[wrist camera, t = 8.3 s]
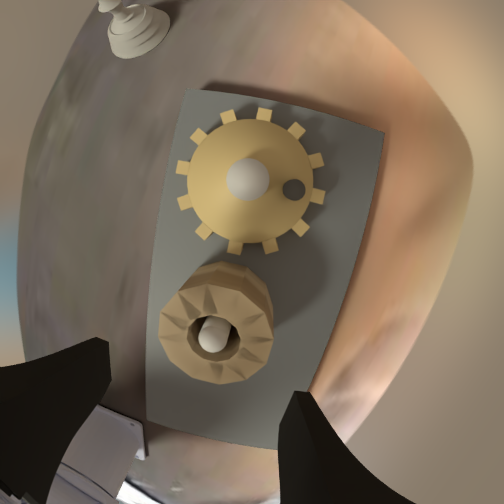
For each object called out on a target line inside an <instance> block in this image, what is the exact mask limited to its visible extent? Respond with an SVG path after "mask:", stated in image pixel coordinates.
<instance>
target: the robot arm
mask: <svg viewBox="0 0 504 504" xmlns="http://www.w3.org/2000/svg"><path fill="white" fill-rule="evenodd" d="M111 380H112V378H111V368H110V356H109V342H107V341H105V340H102V339H100V338H97V337H95V338H92V339H89V340H86V341H84V342H81V343H79V344H76V345H74V346H71V347H69V348H66V349H64V350H61V351H59V352H56V353H54V354H51V355H48V356H45V357H42V358H39V359H36V360H32V361H29V362H25V363H21V364H16V365H11V366H5V367H0V504H119V501H117V500H115V499H116V497H117V495H118V492H119V490H120V488H121V486H122V484H123V482H124V479H125V477H126V475H127V473H128V471H129V469H130V466H131V464H132V462H133V460H134V458H138V459H140V460H145V458H146V456H145V447H144V437H143V426H142V424H141V423H140V422H138V421H136V420H133V419H130V418H128V417H125V416H123V415H120V414H118V413H116V412H113V411H111V410H109V409H106V408H104V407H102V406H100V405H98V403H99V402H100V400H101V399H102V397H103V395H104V394H105V392H106V390H107V388H108V386H109V384H110V382H111ZM278 463H279V478H280V504H415V503H413V502H412V501H410V500H408V499H406V498H405V497H403V496H401V495H400V494H398V493H397V492H395V491H393V490H392V489H391V488H389V487H388V486H387V485H385V484H384V483H383V482H381V481H380V480H379V479H377V478H376V477H375V476H374V475H373V474H372V473H371V472H370V471H369V470H367V469H366V468H365V467H364V466H363V465H362V464H361V463H360V462H359V461H358V460H357V458H356V457H355V456H354V455H353V454H352V453H351V452H350V451H349V449H348V448H347V447H346V446H345V444H344V443H343V442H342V440H341V439H340V438H339V436H338V435H337V434H336V432H335V431H334V429H333V428H332V426H331V425H330V423H329V422H328V420H327V419H326V417H325V416H324V414H323V412H322V411H321V409H320V408H319V406H318V404H317V403H316V401H315V399H314V398H313V396H312V395H311V393H310V392H303V391H295V390H294V392H293V395H292V397H291V399H290V402H289V404H288V406H287V408H286V411H285V413H284V415H283V417H282V419H281V422H280V424H279V433H278Z"/></svg>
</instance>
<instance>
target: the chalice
mask: <svg viewBox="0 0 504 504" xmlns="http://www.w3.org/2000/svg"><path fill="white" fill-rule="evenodd" d="M98 1H99V3H100V5H99V11H100V12H107V11H108V12H110V13H112V14H113V15H114V18H113V19H112V21H111V23H110V25H109V28H108V36H109V41H110V44H111V48H112V51H113V53H114V54H115V55H116V56H117V57H121V58H124V59H125V58H134V57H137V56H140V55H143V54H145V53H147V52H148V51H150V50H152V49H153V48H154V47H156V46H157V45H158V44H159V43H160V42H161V41H162V40H163V38H164V37H165V36H166V35H167V32H168V30H169V28H170V18H169V16H168V14H167V13H165V12H164V11H162V10H158V9H156V8H154V7H150V6H148V5H145V4H136V5H131V6H128V7H126V8H125V7H124V6H123V4H122V2H121V1H122V0H98Z"/></svg>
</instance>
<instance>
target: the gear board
mask: <svg viewBox="0 0 504 504" xmlns="http://www.w3.org/2000/svg"><path fill="white" fill-rule="evenodd" d="M384 134H385V133H383V132H381V131H378V130H375V129H373V128H370V127H367V126H364V125H361V124H358V123H355V122H352V121H349V120H346V119H343V118H340V117H337V116H333V115H330V114H326V113H323V112H319V111H315V110H312V109H308V108H304V107H300V106H296V105H291V104H287V103H282V102H278V101H273V100H268V99H262V98H257V97H251V96H245V95H239V94H232V93H225V92H217V91H208V90H198V89H186V91H185V94H184V98H183V102H182V105H181V109H180V113H179V116H178V120H177V124H176V128H175V132H174V137H173V141H172V145H171V150H170V154H169V159H168V164H167V168H166V173H165V179H164V184H163V189H162V195H161V201H160V207H159V213H158V219H157V226H156V233H155V240H154V248H153V257H152V265H151V275H150V286H149V298H148V312H147V331H146V415H147V421H150V422H153V423H156V424H159V425H162V426H165V427H169V428H172V429H175V430H179V431H182V432H186V433H189V434H193V435H197V436H201V437H205V438H209V439H214V440H218V441H223V442H228V443H233V444H239V445H245V446H251V447H257V448H265V449H273V450H278V433H279V424H280V422H281V419H282V417H283V415H284V413H285V411H286V408H287V406H288V404H289V402H290V399H291V397H292V395H293V392H294V390H295V391H303V392H307V390H308V388H309V386H310V384H311V382H312V379H313V377H314V375H315V372H316V370H317V368H318V365H319V363H320V361H321V358H322V356H323V353H324V351H325V348H326V346H327V343H328V341H329V338H330V335H331V333H332V330H333V327H334V325H335V322H336V319H337V317H338V314H339V311H340V308H341V305H342V302H343V299H344V296H345V293H346V290H347V287H348V284H349V281H350V278H351V275H352V272H353V268H354V265H355V262H356V258H357V255H358V251H359V248H360V244H361V241H362V237H363V233H364V230H365V226H366V222H367V218H368V214H369V210H370V205H371V201H372V197H373V192H374V188H375V183H376V178H377V173H378V168H379V163H380V158H381V152H382V146H383V140H384ZM219 261H225V262H229V263H234V264H238V265H242V266H247V267H248V268H249V269H250V270H251V271H252V272H254V273H255V274H256V275H257V276H258V277H259V278H260V279H261V280H262V281H264V282H265V283H266V286H267V289H268V292H269V295H270V298H271V301H272V304H273V326H274V341H273V344H272V347H271V351H270V354H269V357H268V360H267V363H266V365H264V366H263V367H262V368H261V369H259V370H258V371H257V372H256V373H254V374H253V375H252V376H251V377H249V378H248V379H247V380H243V381H238V382H232V383H226V384H220V385H219V384H215V383H211V382H207V381H203V380H199V379H195V378H192V377H191V376H189V375H188V374H187V373H185V372H184V371H183V370H181V369H180V368H179V367H177V366H176V365H175V364H174V363H172V362H171V361H170V360H169V358H168V356H167V354H166V352H165V350H164V348H163V346H162V344H161V342H160V340H159V338H158V331H159V318H160V311H161V310H162V309H163V308H164V307H165V305H166V304H167V303H168V302H169V301H170V299H171V298H172V297H173V296H174V295H175V294H176V292H177V291H178V290H179V289H180V288H181V287H182V286H183V284H184V283H185V282H186V281H187V280H188V279H189V278H190V276H191V275H192V274H193V273H194V272H195V271H196V270H197V268H199V267H202V266H205V265H209V264H212V263H216V262H219ZM231 325H232V324H231V323H230V322H228V321H227V320H226V319H225V318H220V317H216V316H212V315H208V316H207V318H206V320H205V322H204V325H203V327H202V329H201V331H200V333H199V343H200V345H201V347H202V348H203V349H204V350H206V351H208V352H212V353H215V352H219V351H221V350H222V349H223V348H224V347H225V346H226V343H227V340H228V336H229V333H230V329H231Z"/></svg>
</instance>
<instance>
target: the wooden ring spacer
mask: <svg viewBox="0 0 504 504" xmlns="http://www.w3.org/2000/svg"><path fill="white" fill-rule="evenodd" d="M208 315H212V316H216V317H220V318H225V319H226V320H227V321H228V322H230V323H231V324H232V325H231V329H230V333H229V336H228V340H227V343H226V346H225V347H224V348H223V349H222V350H221V351H219V352H215V353H212V352H208V351H206V350H204V349H203V348H202V347H201V345H200V343H199V333H200V331H201V329H202V327H203V325H204V322H205V320H206V318H207V316H208ZM158 338H159V340H160V342H161V344H162V346H163V348H164V350H165V352H166V354H167V356H168V358H169V360H170V361H171V362H172V363H174V364H175V365H176V366H177V367H179V368H180V369H181V370H183V371H184V372H185V373H187V374H188V375H189V376H191V377H192V378H195V379H199V380H203V381H207V382H211V383H215V384H219V385H220V384H226V383H232V382H238V381H243V380H247V379H248V378H249V377H251V376H252V375H253V374H254V373H256V372H257V371H258V370H259V369H261V368H262V367H263V366H264V365H266V363H267V360H268V357H269V354H270V351H271V347H272V344H273V341H274V326H273V304H272V301H271V298H270V295H269V292H268V289H267V286H266V283H265V282H264V281H262V280H261V279H260V278H259V277H258V276H257V275H256V274H255V273H254V272H252V271H251V270H250V269H249V268H248V267H247V266H242V265H238V264H234V263H229V262H225V261H219V262H216V263H212V264H209V265H205V266H202V267H199V268H197V270H196V271H195V272H194V273H193V274H192V275H191V276H190V278H189V279H188V280H187V281H186V282H185V283H184V284H183V286H182V287H181V288H180V289H179V290H178V291H177V292H176V294H175V295H174V296H173V297H172V298H171V299H170V301H169V302H168V303H167V304H166V305H165V307H164V308H163V309H162V310H161V311H160V318H159V331H158Z"/></svg>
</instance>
